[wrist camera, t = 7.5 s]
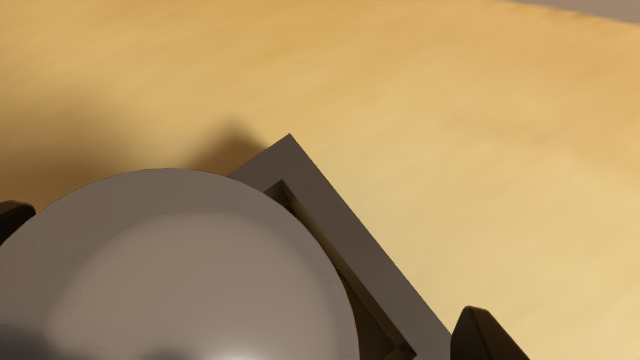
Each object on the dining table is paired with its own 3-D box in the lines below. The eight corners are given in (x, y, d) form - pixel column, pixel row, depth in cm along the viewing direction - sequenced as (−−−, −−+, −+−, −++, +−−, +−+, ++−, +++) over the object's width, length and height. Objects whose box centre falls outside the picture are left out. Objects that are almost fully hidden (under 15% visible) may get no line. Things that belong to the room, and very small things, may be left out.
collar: (441, 353, 16) (473, 362, 13) (234, 535, 15) (210, 600, 11) (294, 166, 19) (289, 133, 15) (98, 304, 17) (44, 301, 13)
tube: (361, 344, 16) (461, 417, 5) (247, 438, 15) (47, 796, 4) (281, 236, 18) (212, 91, 6) (171, 317, 17) (-152, 324, 5)
